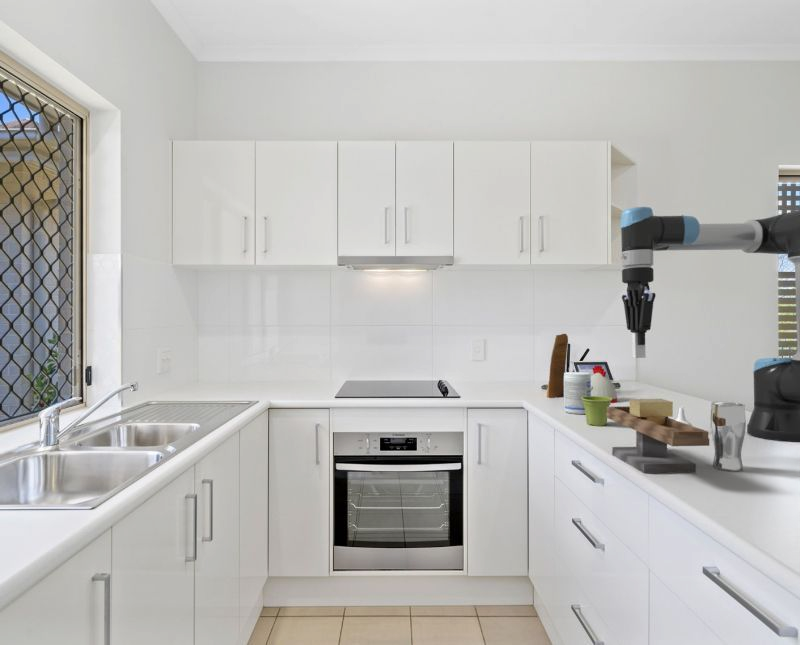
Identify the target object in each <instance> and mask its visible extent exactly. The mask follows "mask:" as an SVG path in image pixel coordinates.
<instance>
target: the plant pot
mask: <svg viewBox="0 0 800 645" xmlns="http://www.w3.org/2000/svg"><path fill="white" fill-rule="evenodd" d="M582 400H583V403H584V407H585V414H584V415H585V420H586V425H588V426H591V425H593V426H595V427H603V426H606V425H607V424H608V418H606V412H607V407H610V406H611V403H610V402H611V401H612V399H611V398H608V397H601V396H585V397H582Z"/></svg>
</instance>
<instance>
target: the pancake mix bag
mask: <svg viewBox="0 0 800 645" xmlns="http://www.w3.org/2000/svg"><path fill="white" fill-rule="evenodd" d="M554 339H555V340H554V344H553V348H552V352H551V357H550V365H549V376H548V377H549V379H548V384H547V389H546V397H547V398H549V399H555V397H557V398H560V397H564V373H566V365H567V364H566V363H567V361H566V360H567V354H568V353H567V351H568V344H569V336H568V334H566V333H562V334H557V335H555V338H554Z"/></svg>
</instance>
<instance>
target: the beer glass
mask: <svg viewBox="0 0 800 645" xmlns="http://www.w3.org/2000/svg"><path fill="white" fill-rule="evenodd" d="M709 420H710V431H711V435H712V436H711V437H712V442H713V446H714V457H713V462H712V467H713V468H714V469H717V470H721V471H726V472H737V473H738V472H742V471H744V464H743V458H742V450H743V445H744V444H743V443H744V439H745V434H746V428H747V425H746V424H747V422H746V420H747V418H746V411H745V404H744V403H739V402H732V401H713V402H711V407H710V419H709Z"/></svg>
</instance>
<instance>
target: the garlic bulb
mask: <svg viewBox="0 0 800 645" xmlns="http://www.w3.org/2000/svg"><path fill="white" fill-rule="evenodd" d="M675 420H676V421H679V422H682V423H685V424H688V425H691V426H693V424H691V422H689V421H688V420H687V419H686V417H685V410H684V407H683V406H679V410H678V415H677V418H676V419H675Z"/></svg>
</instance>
